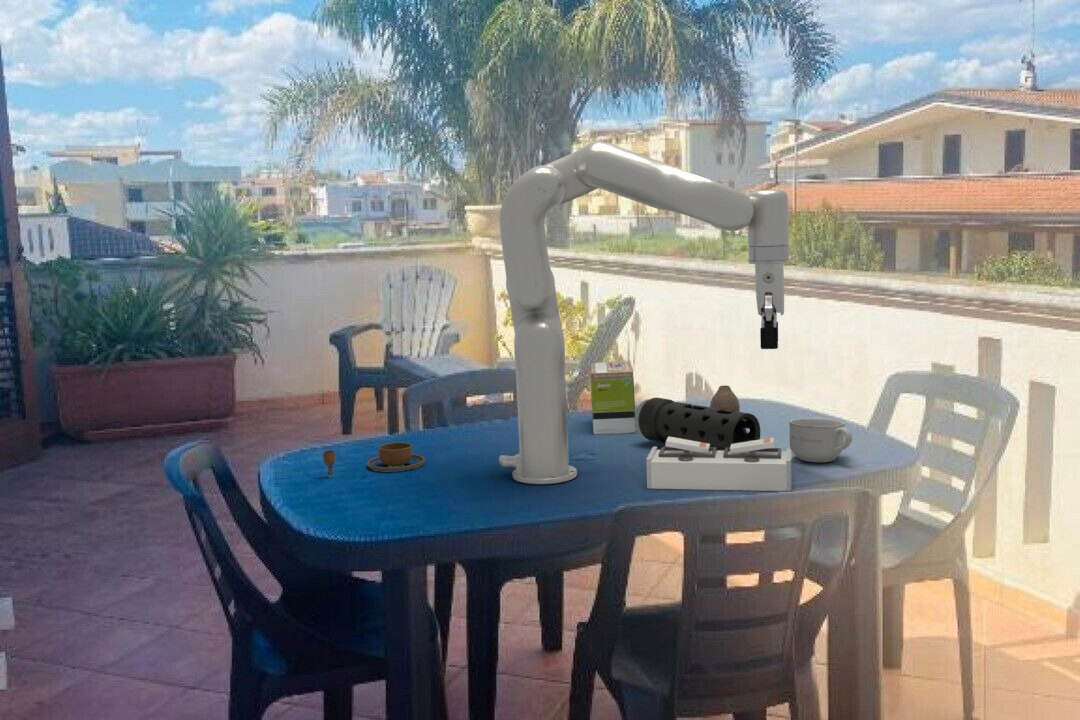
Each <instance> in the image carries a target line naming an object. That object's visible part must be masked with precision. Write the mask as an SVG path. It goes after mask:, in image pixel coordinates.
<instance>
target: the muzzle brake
mask: <svg viewBox="0 0 1080 720" xmlns="http://www.w3.org/2000/svg"><path fill="white" fill-rule="evenodd" d="M634 421H635V429H636V431H637V432H638V434H640V435H641V436H643V437H644V438H645V439H646V440H648V441H651V442H657V443H660V444H661V443H662V444H663V443H665V444H666V440H667V438H668V436H669V437H675V438H680V439H686V440H691V441H697V442H702V443H708V444H710V447H717V450H723V451H724V450H725V447H731V444H735V443H741V442H747V441H754V440H760V439H761V425H760V422H759V420H758V418H757V417H756V416H755V415H754V414H752V413H749V412H742V411H740V412H736V411H730V410H724V409H718V408H712V407H710V406H703V405H697V404H692V403H686V402H679V401H675V400H672V399H669V398H663V397H662V398H661V397H652V398H649V399H645V400H643V401H641V402H640V404H639V405H638V406H637V408H636V409H635V420H634ZM748 429H749V432H748V431H747V430H748Z"/></svg>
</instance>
